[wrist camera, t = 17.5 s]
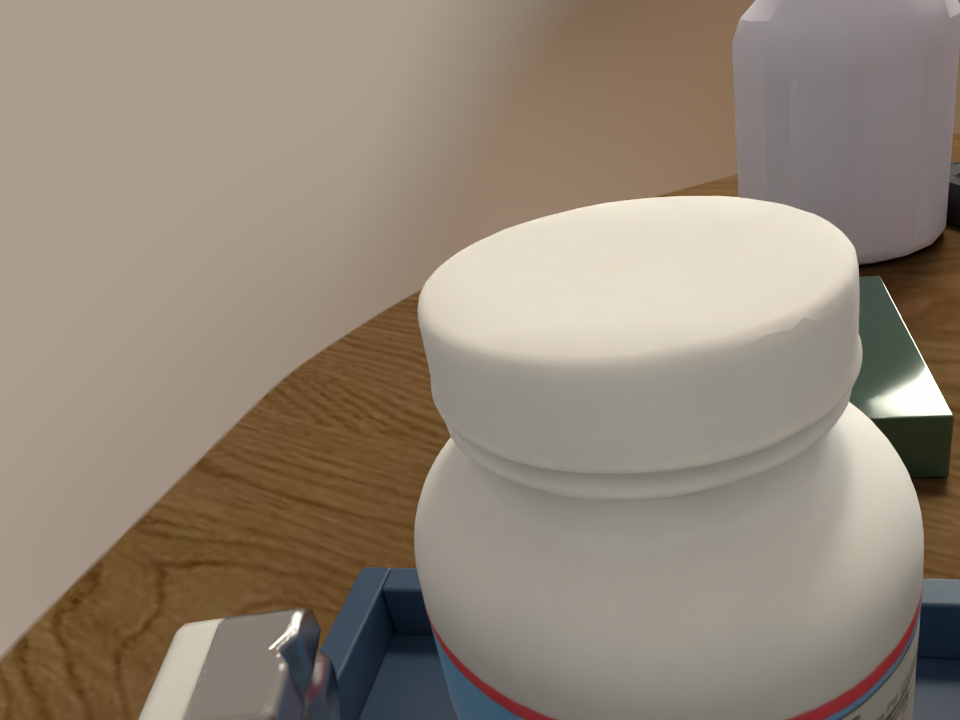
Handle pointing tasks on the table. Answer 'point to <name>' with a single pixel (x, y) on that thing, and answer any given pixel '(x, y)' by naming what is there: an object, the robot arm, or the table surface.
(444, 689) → the dish
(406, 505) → the table surface
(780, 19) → the soap bottle
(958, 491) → the table surface
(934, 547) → the table surface
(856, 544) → the pill bottle
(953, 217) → the vhs tape
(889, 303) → the button base
